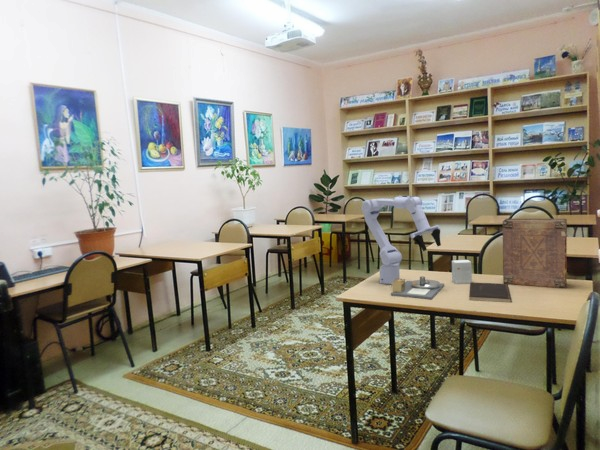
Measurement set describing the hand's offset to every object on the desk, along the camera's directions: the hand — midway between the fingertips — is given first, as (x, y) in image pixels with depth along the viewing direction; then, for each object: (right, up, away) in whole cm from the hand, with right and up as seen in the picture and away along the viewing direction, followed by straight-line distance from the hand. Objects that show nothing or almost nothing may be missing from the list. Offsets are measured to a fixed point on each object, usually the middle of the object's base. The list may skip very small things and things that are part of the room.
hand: (432, 248), depth 194 cm
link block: (-15, -20, +1) cm, 25 cm away
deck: (-5, -20, +3) cm, 21 cm away
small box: (+19, -18, +13) cm, 29 cm away
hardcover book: (+23, -20, -8) cm, 31 cm away
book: (+48, -17, +3) cm, 51 cm away
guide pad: (-7, -20, -3) cm, 21 cm away
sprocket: (-1, -18, +6) cm, 19 cm away
